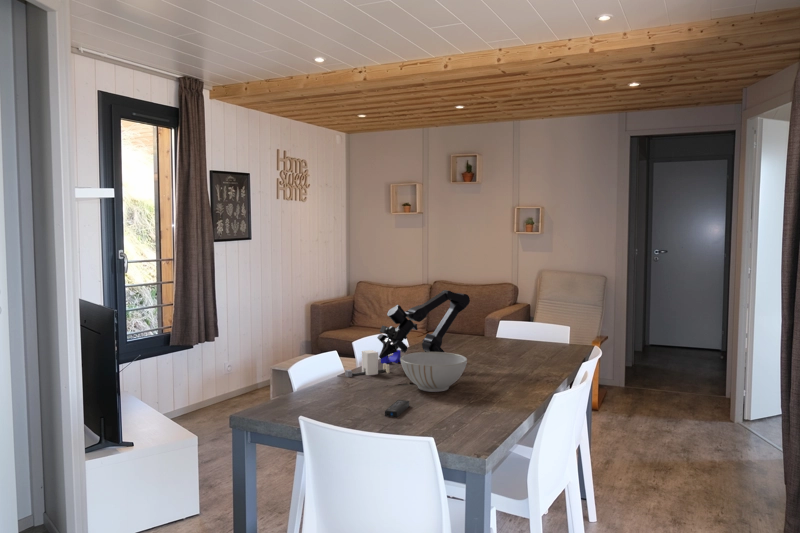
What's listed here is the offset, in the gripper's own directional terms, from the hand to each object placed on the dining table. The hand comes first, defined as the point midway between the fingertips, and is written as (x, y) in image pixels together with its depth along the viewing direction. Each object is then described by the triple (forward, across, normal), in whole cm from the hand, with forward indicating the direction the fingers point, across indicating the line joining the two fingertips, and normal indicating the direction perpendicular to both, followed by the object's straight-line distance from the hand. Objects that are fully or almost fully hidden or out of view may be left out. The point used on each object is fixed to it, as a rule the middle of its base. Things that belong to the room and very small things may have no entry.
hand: (380, 357), depth 264 cm
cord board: (+10, 0, +1) cm, 10 cm away
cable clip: (-5, -19, +16) cm, 25 cm away
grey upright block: (+8, 0, +1) cm, 8 cm away
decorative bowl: (-1, +29, +12) cm, 31 cm away
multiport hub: (+19, +50, -7) cm, 54 cm away
